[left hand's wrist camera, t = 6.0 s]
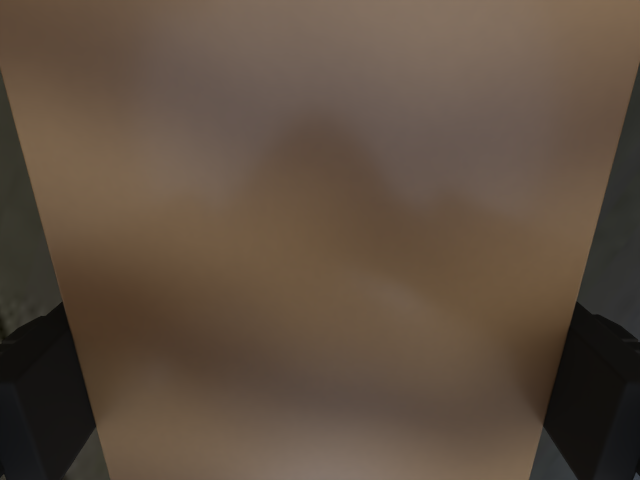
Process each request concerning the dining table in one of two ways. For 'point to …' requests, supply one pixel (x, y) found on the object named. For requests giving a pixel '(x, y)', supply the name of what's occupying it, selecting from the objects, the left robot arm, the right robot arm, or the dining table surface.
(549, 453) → the dining table surface
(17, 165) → the dining table surface
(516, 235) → the cabinet
